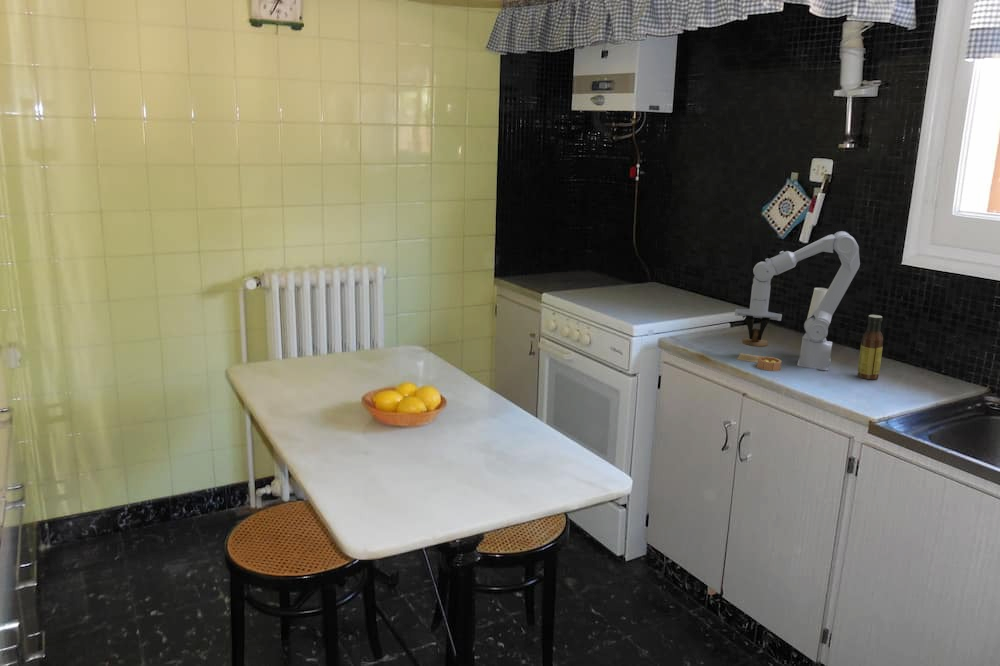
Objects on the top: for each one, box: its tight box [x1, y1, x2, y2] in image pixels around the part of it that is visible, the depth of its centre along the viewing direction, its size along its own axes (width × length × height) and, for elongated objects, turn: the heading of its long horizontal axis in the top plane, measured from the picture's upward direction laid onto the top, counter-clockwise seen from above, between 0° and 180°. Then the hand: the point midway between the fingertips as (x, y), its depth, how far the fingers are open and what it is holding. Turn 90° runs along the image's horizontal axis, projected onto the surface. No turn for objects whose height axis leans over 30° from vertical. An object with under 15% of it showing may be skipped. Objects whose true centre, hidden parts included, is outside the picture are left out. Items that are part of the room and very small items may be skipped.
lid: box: [741, 327, 769, 348], centre depth 263 cm, size 8×8×5 cm
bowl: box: [756, 356, 783, 372], centre depth 255 cm, size 7×7×3 cm
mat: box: [736, 352, 764, 363], centre depth 265 cm, size 9×8×1 cm
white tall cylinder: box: [806, 287, 829, 320], centre depth 265 cm, size 7×7×24 cm
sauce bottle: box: [857, 314, 884, 380], centre depth 248 cm, size 6×6×20 cm
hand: (755, 339), depth 263 cm, fingers closed on lid, 2 cm apart
